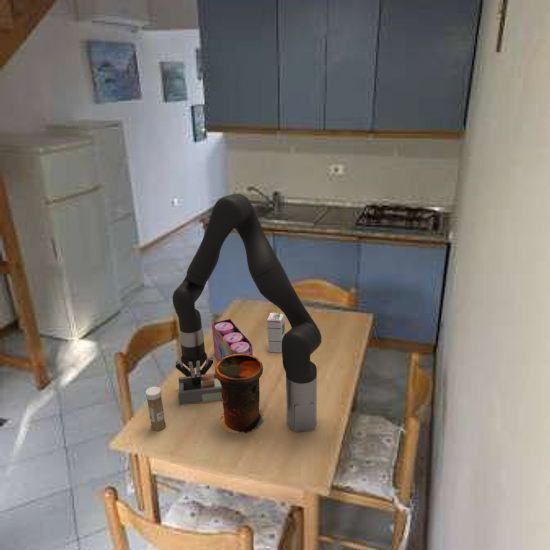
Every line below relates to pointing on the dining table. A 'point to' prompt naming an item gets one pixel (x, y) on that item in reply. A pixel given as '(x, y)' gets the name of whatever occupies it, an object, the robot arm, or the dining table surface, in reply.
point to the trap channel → (198, 391)
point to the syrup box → (275, 331)
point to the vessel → (240, 392)
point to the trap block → (208, 381)
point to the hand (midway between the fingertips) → (196, 384)
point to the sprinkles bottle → (155, 408)
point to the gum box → (229, 340)
